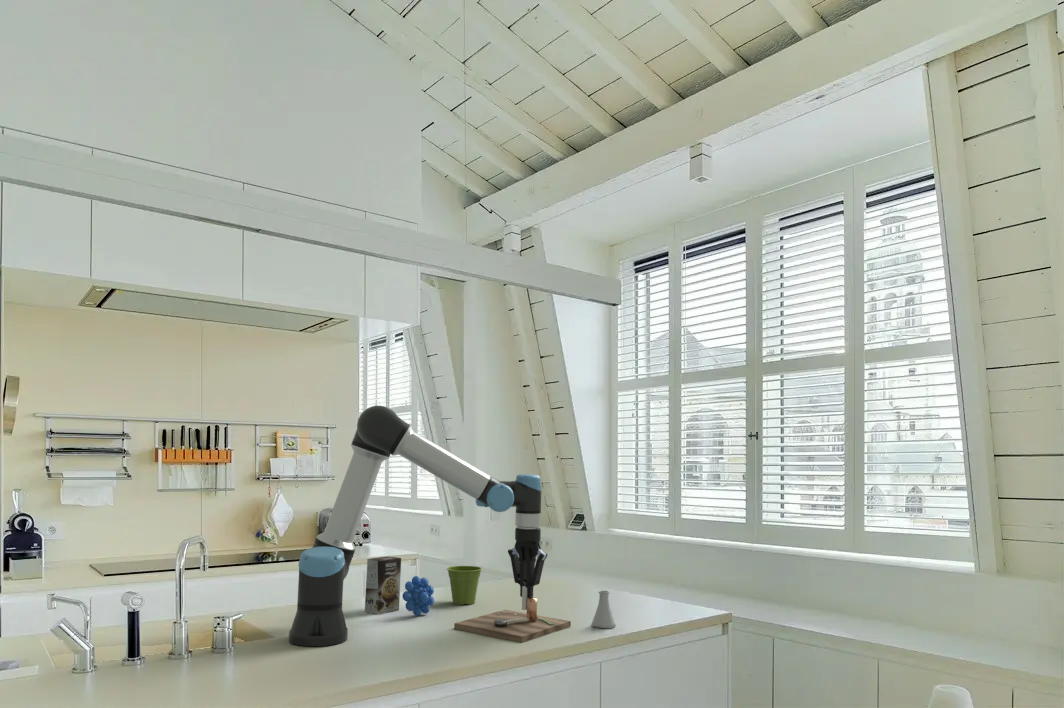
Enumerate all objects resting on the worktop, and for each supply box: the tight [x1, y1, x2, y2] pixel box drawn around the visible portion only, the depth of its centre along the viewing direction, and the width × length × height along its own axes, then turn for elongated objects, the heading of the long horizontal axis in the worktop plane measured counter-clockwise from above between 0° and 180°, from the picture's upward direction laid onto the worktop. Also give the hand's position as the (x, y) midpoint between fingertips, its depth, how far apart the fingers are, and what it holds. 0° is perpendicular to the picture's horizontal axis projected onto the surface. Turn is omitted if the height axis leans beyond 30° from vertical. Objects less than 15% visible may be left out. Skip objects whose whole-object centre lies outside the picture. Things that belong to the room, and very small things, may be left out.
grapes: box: [402, 575, 435, 617], centre depth 247 cm, size 12×7×12 cm, turn 134°
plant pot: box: [446, 565, 483, 606], centre depth 268 cm, size 12×12×11 cm
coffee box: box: [364, 556, 402, 615], centre depth 254 cm, size 9×6×16 cm
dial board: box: [453, 609, 572, 643], centre depth 235 cm, size 24×24×2 cm
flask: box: [591, 590, 616, 629], centre depth 240 cm, size 7×7×10 cm
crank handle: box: [494, 596, 538, 626], centre depth 234 cm, size 15×4×6 cm, turn 127°
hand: (526, 608), depth 238 cm, fingers closed
